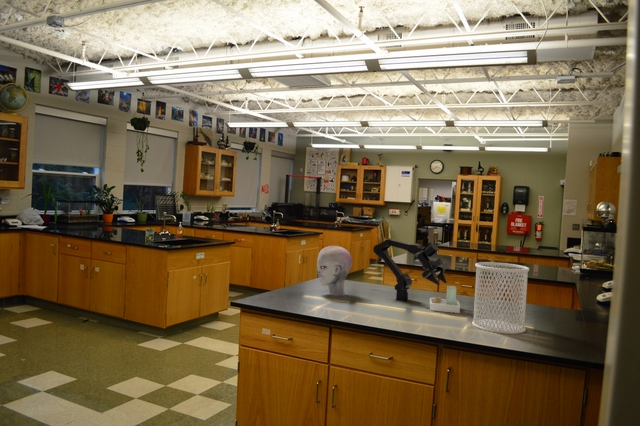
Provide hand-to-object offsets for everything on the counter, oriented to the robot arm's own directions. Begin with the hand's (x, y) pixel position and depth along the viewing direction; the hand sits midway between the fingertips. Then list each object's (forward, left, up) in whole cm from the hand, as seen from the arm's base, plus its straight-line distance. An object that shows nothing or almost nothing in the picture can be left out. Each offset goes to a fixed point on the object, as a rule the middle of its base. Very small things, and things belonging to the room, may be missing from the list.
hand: (442, 283), depth 264 cm
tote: (+1, -3, -14) cm, 14 cm away
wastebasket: (+25, -32, -14) cm, 43 cm away
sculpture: (-65, +11, -14) cm, 67 cm away
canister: (+5, -3, -13) cm, 14 cm away
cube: (-3, -3, -13) cm, 13 cm away
